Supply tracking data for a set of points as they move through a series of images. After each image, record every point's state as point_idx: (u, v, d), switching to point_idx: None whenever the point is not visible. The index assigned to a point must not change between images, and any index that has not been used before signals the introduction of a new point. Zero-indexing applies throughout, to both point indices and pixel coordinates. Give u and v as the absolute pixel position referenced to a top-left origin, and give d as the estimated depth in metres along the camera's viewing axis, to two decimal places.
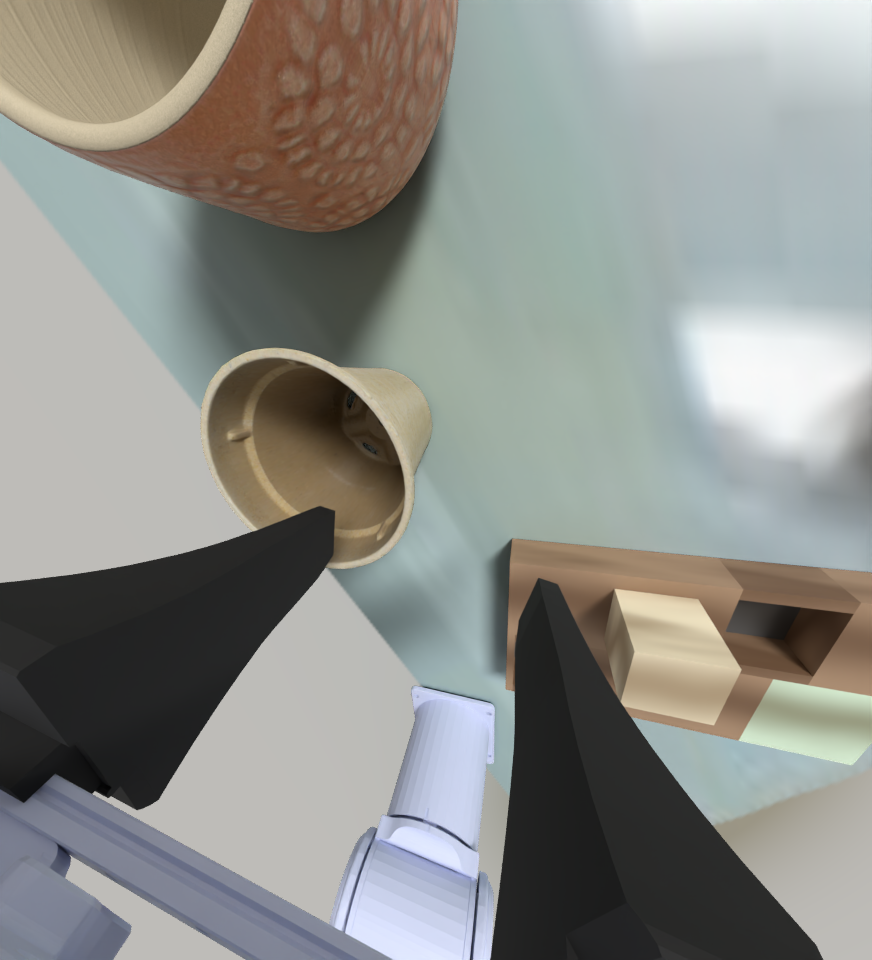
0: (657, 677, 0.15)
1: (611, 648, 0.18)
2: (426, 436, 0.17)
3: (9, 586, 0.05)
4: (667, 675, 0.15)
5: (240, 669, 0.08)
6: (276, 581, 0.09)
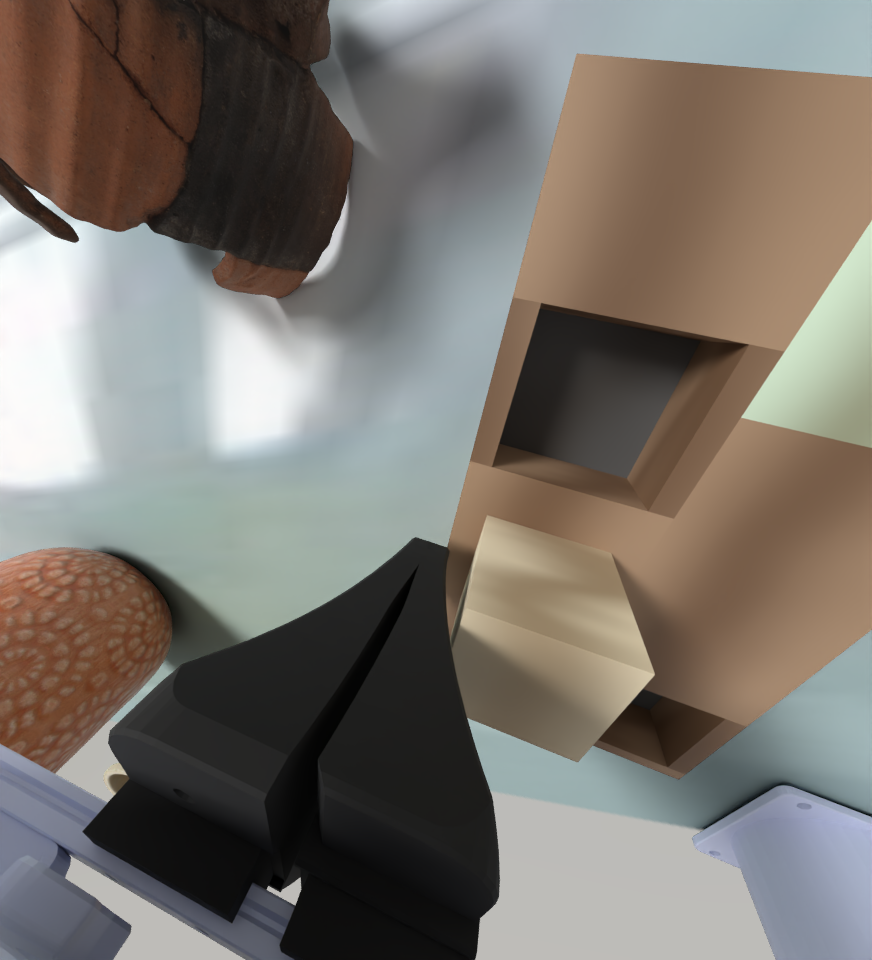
0: (494, 700, 0.08)
1: None
2: None
3: (192, 668, 0.05)
4: (487, 688, 0.08)
5: None
6: (393, 625, 0.08)
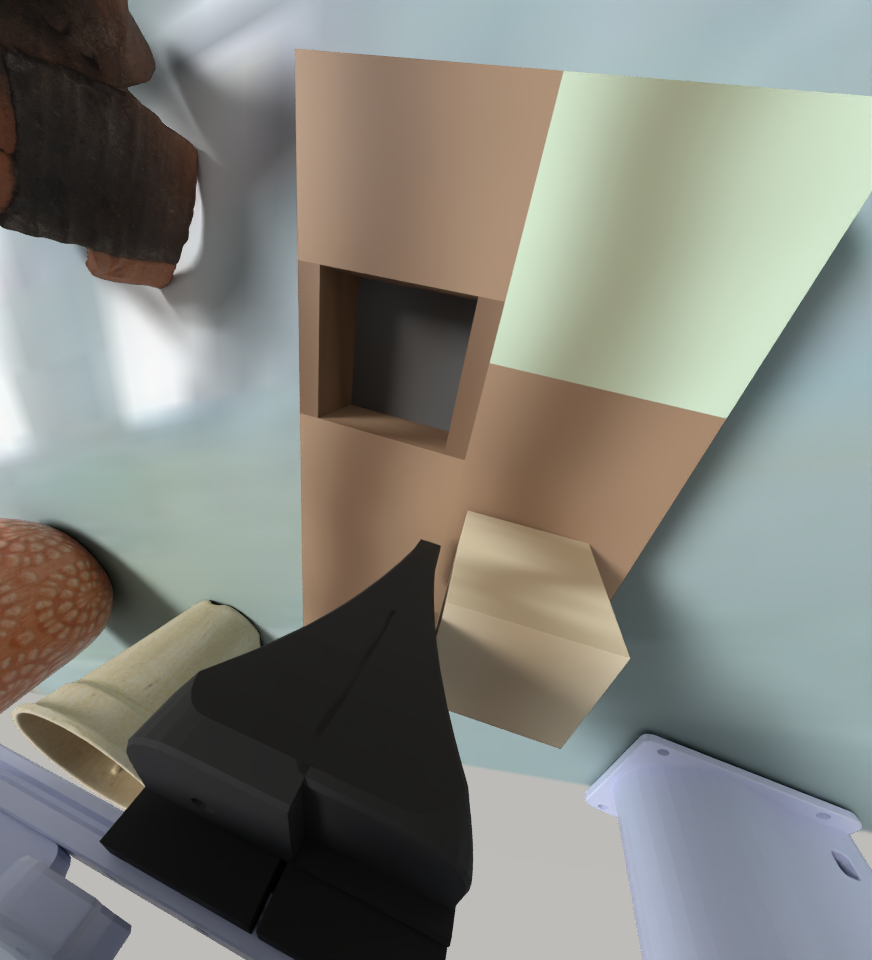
0: (478, 693, 0.08)
1: None
2: (199, 627, 0.20)
3: (209, 675, 0.05)
4: (471, 682, 0.08)
5: None
6: None
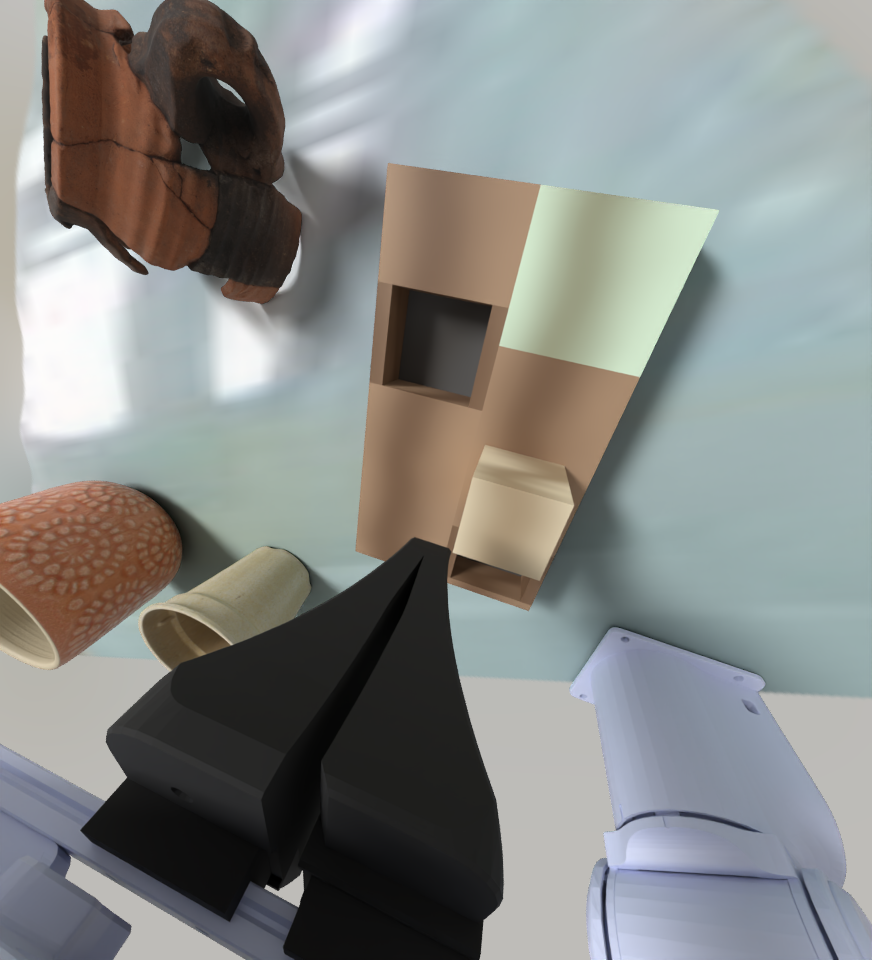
0: (489, 541, 0.14)
1: None
2: (266, 562, 0.25)
3: (190, 667, 0.05)
4: (485, 534, 0.14)
5: None
6: (392, 625, 0.08)
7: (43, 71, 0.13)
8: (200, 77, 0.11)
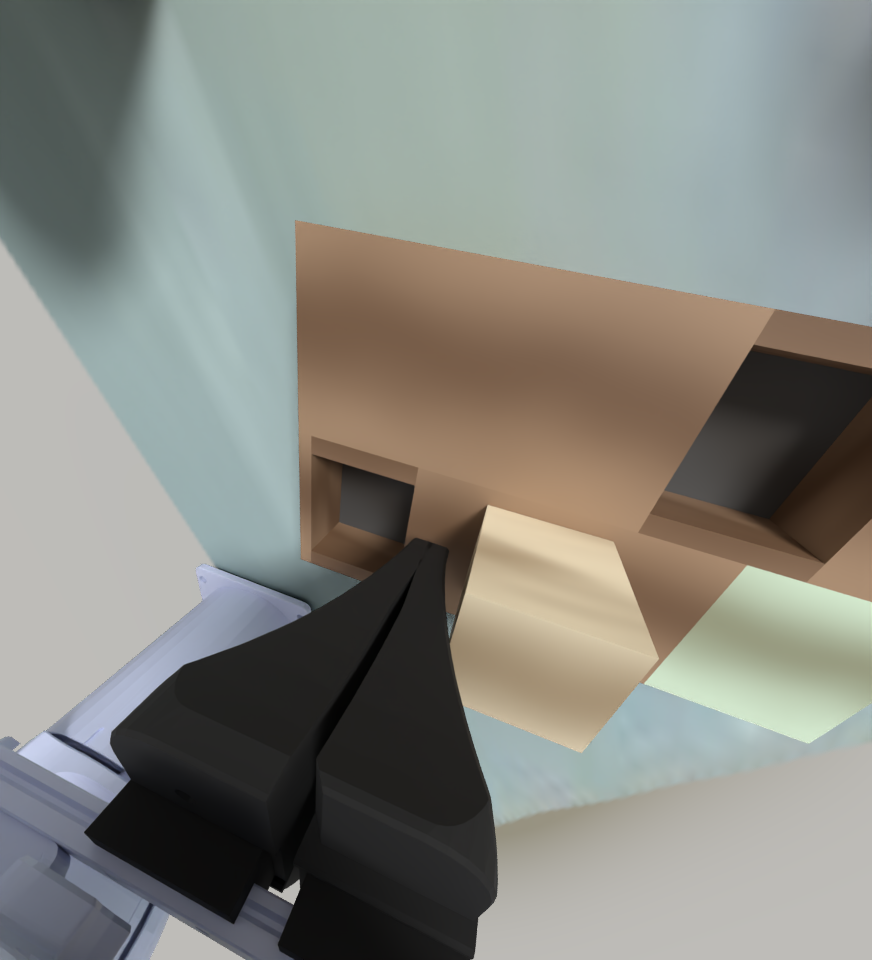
0: (501, 653, 0.07)
1: (459, 601, 0.11)
2: None
3: (193, 668, 0.05)
4: (519, 650, 0.07)
5: None
6: None
7: None
8: None
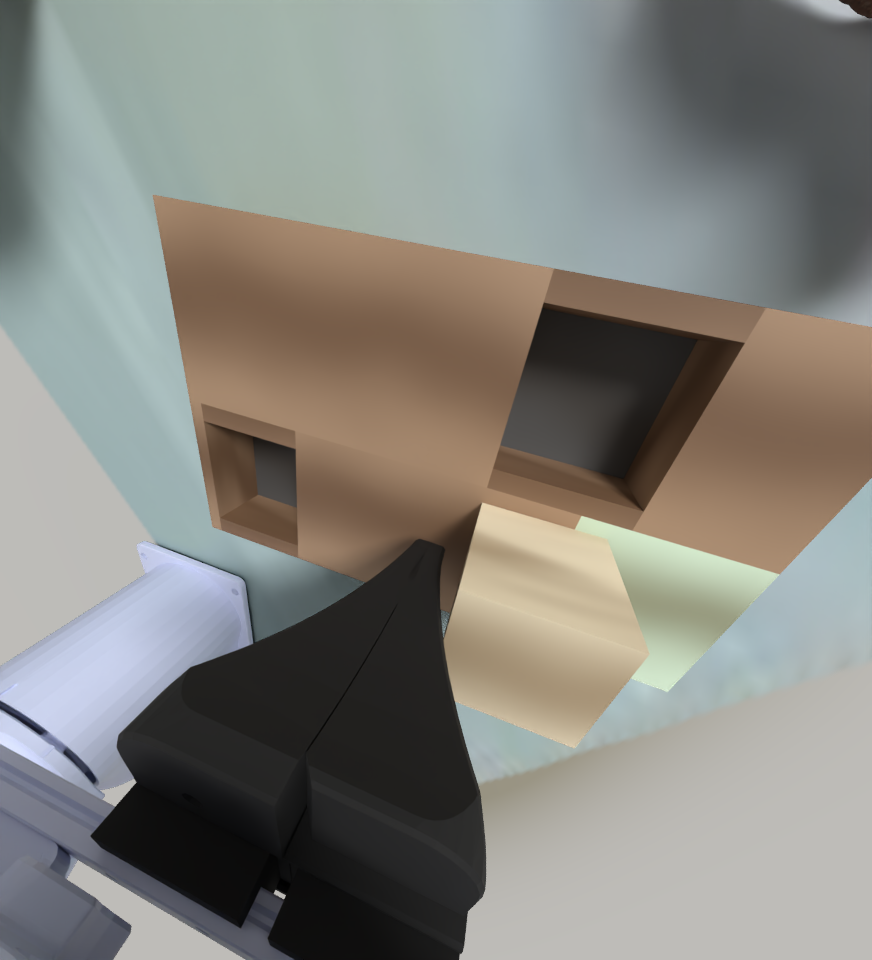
0: (494, 649, 0.07)
1: None
2: None
3: (200, 671, 0.05)
4: (512, 647, 0.07)
5: None
6: None
7: None
8: None
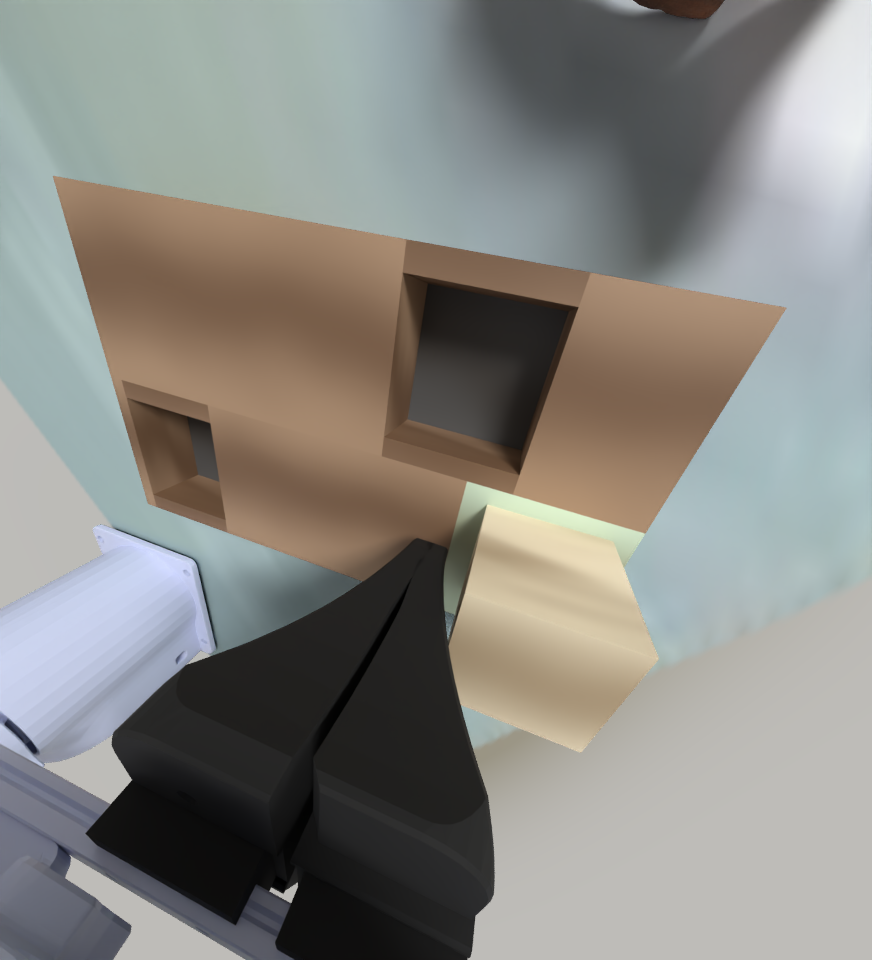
0: (501, 652, 0.07)
1: (458, 601, 0.11)
2: None
3: (195, 669, 0.05)
4: (518, 650, 0.07)
5: None
6: None
7: None
8: None
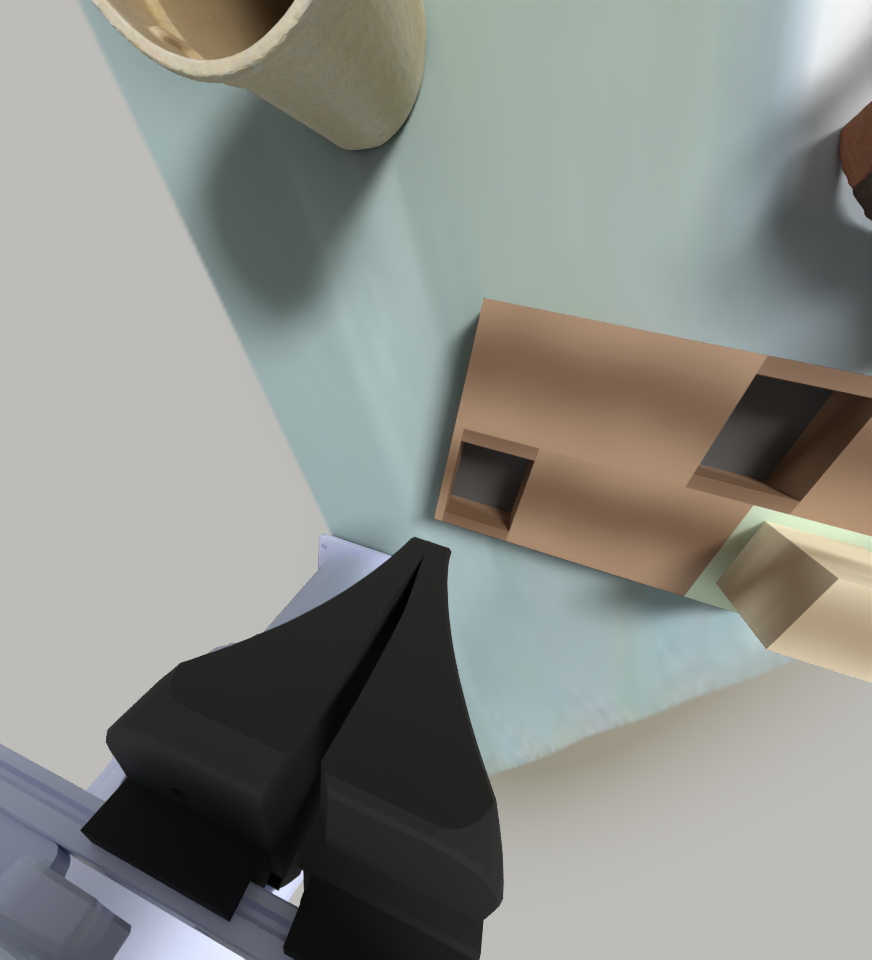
0: (846, 616, 0.12)
1: (743, 589, 0.15)
2: (413, 35, 0.12)
3: (190, 667, 0.05)
4: (862, 614, 0.12)
5: None
6: (392, 625, 0.08)
7: None
8: None
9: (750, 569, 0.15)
